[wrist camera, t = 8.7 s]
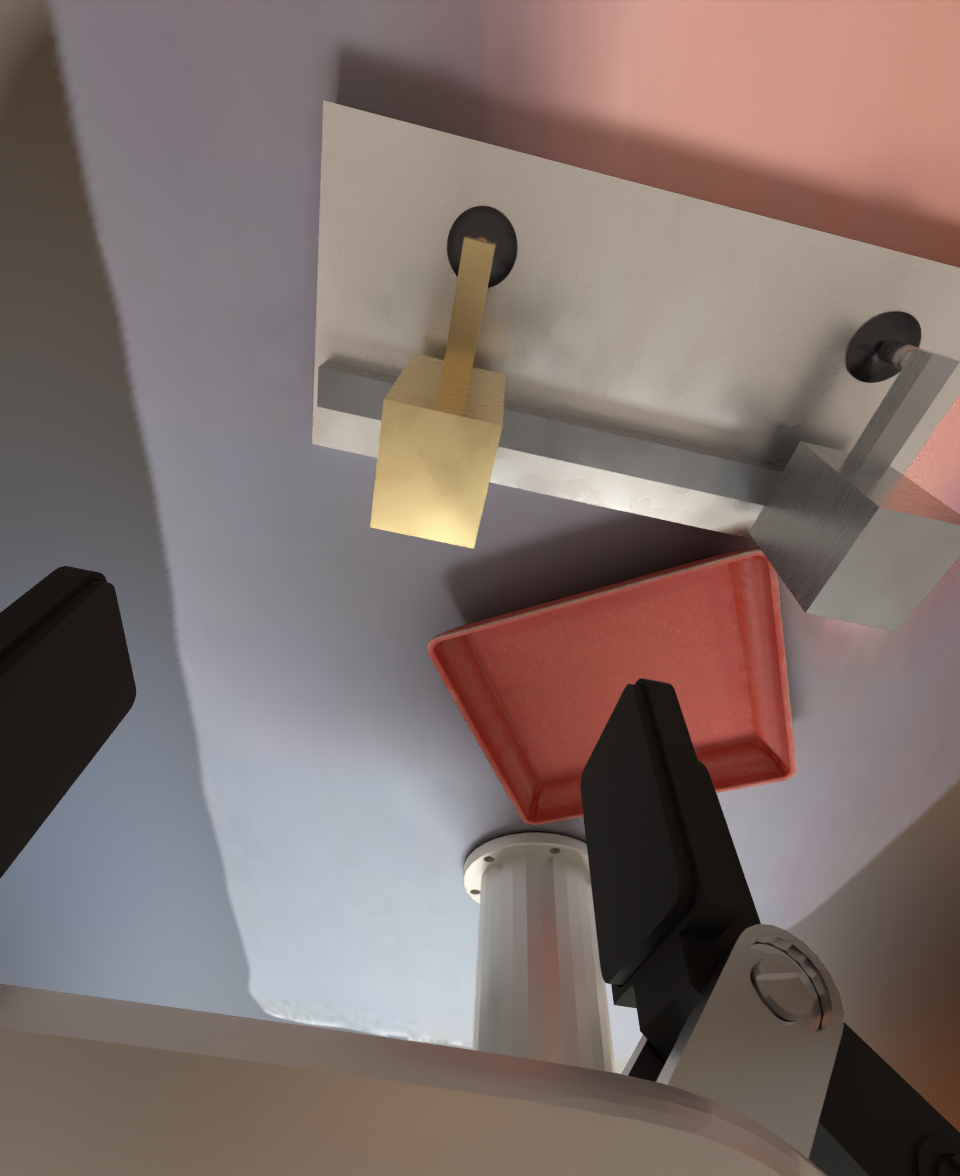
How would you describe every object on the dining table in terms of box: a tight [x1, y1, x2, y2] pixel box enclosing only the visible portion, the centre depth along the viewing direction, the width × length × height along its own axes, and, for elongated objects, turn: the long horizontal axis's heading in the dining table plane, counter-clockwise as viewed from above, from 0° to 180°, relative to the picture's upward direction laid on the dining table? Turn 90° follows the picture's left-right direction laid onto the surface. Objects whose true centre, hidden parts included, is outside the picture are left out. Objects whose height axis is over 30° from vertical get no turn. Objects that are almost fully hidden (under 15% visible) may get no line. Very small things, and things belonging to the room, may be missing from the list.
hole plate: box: [312, 100, 960, 632], centre depth 20 cm, size 12×26×9 cm, turn 78°
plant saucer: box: [426, 548, 797, 825], centre depth 34 cm, size 18×18×3 cm
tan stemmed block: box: [370, 236, 506, 549], centre depth 19 cm, size 9×4×7 cm, turn 168°
